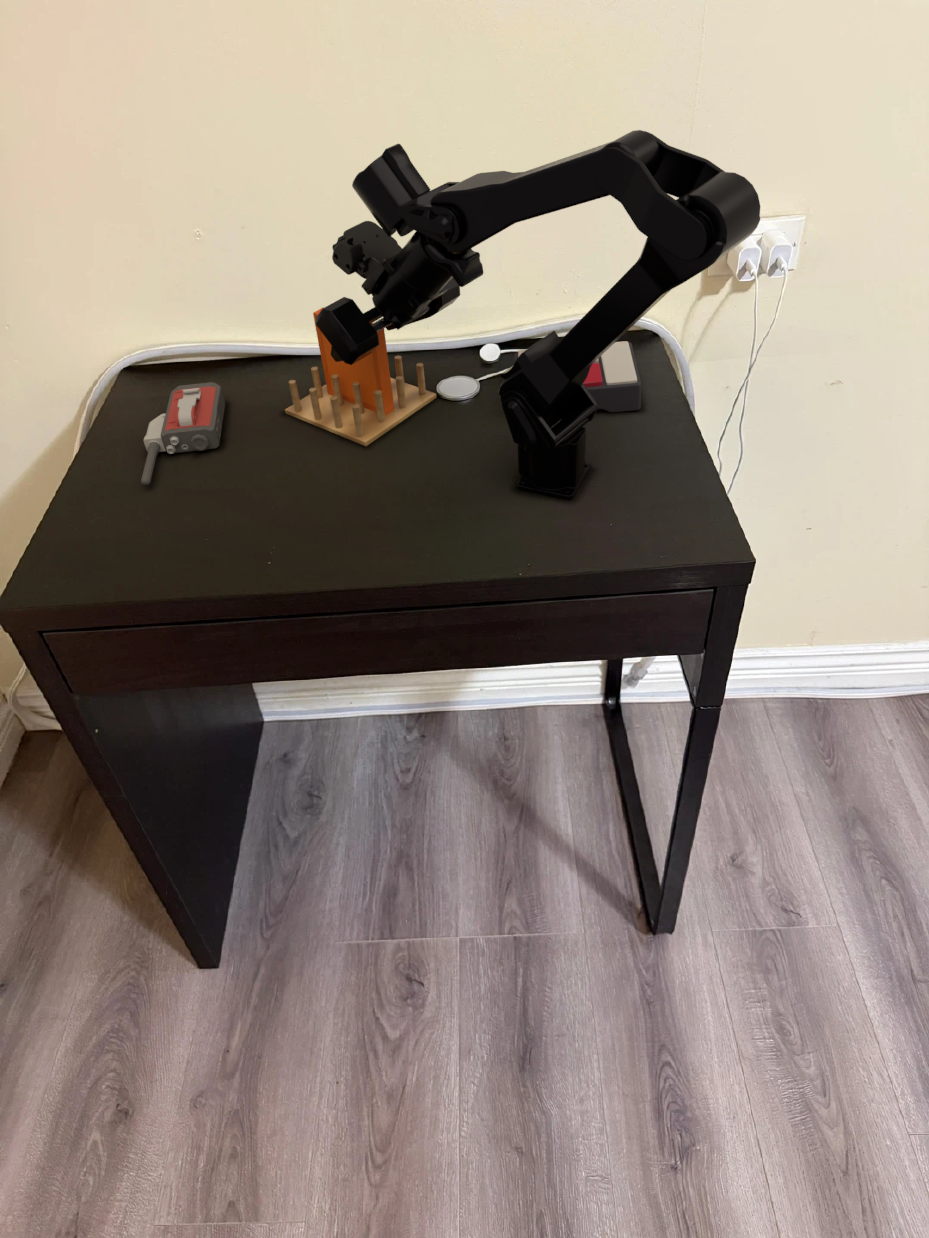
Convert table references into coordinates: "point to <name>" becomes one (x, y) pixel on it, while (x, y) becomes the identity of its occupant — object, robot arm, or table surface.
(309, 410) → the rack
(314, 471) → the table surface
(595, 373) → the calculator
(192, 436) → the walkie-talkie
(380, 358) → the lid
